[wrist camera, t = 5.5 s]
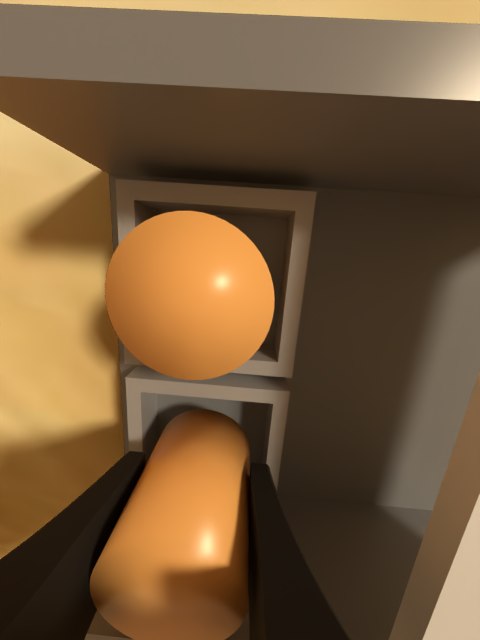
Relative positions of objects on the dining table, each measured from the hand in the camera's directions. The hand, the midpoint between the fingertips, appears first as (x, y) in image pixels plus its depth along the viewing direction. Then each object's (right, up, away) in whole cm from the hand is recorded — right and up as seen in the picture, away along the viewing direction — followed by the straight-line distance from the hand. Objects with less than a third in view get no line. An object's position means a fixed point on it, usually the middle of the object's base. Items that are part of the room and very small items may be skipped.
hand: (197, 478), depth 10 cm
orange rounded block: (0, 0, +2) cm, 2 cm away
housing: (+5, +4, +3) cm, 7 cm away
